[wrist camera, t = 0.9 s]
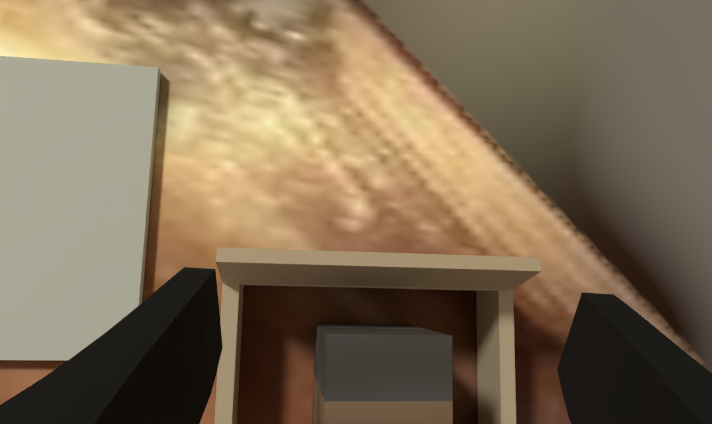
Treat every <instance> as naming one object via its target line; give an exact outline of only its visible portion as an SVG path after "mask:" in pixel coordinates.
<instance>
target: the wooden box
mask: <svg viewBox="0 0 712 424" xmlns="http://www.w3.org/2000/svg"><path fill="white" fill-rule="evenodd" d="M216 264H217V267H218V270H219V273H220V276H221V279H222V282H223V288H222V305H221V322H220V325H221V335H222V346H223V348H222V352H221V356H220V360H219V364H218V373H217V390H216V407H215V424H237V412H238V393H239V374H240V355H241V336H242V317H243V299H244V285H248V286H290V287H333V288H376V289H418V290H461V291H476V313H477V392H478V424H516V391H515V347H514V304H513V289H515V288H517V287H518V286H520V285H521V284H523V283H524V282H526V281H527V280H529V279H530V278H532V277H533V276H535V275H536V274H538V273H539V272H541V267H540V261H539V258H533V257H502V256H471V255H440V254H409V253H378V252H347V251H316V250H285V249H254V248H223V247H217V256H216Z"/></svg>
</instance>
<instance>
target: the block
mask: <svg viewBox="0 0 712 424" xmlns="http://www.w3.org/2000/svg"><path fill="white" fill-rule="evenodd" d="M312 424H453V392H452V335H448V334H444V333H440V332H436V331H432V330H428V329H424V328H420V327H416V326H412V325H394V324H327V323H315V349H314V380H313V410H312Z"/></svg>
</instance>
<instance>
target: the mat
mask: <svg viewBox="0 0 712 424" xmlns="http://www.w3.org/2000/svg"><path fill="white" fill-rule="evenodd" d="M160 77H161V72H160V70H159V68H157V67H143V66H129V65H116V64H102V63H88V62H75V61H61V60H47V59H34V58H20V57H6V56H0V360H69V359H71V358H72V357H73V356H75V355H76V354H77V353H79V352H80V351H81V350H83V349H84V348H85V347H87V346H88V345H90V344H91V343H92V342H94V341H95V340H96V339H98V338H99V337H100V336H102V335H103V334H104V333H106V332H107V331H108V330H109V329H111V328H112V327H113V326H114V325H116V324H117V323H118V322H119V321H120V320H122V319H123V318H124V317H125V316H127V315H128V314H129V313H130V312H132V311H133V310H134V309H135V308H136V307H138V306H139V305H140V304H141V303H142V298H143V286H144V274H145V261H146V249H147V237H148V224H149V212H150V200H151V187H152V175H153V163H154V151H155V138H156V126H157V114H158V101H159V89H160Z"/></svg>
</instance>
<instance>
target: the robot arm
mask: <svg viewBox="0 0 712 424" xmlns="http://www.w3.org/2000/svg"><path fill="white" fill-rule="evenodd" d="M222 348H223V346H222V335H221V325H220V314H219V304H218V293H217V283H216V272H215V269H202V268H187V267H184V268H183V269H182V270H181V271H179V272H178V273H177V274H176V275H175V276H173V277H172V278H171V279H170V280H169V281H167V282H166V283H165V284H164V285H163V286H161V287H160V288H159V289H158V290H157V291H155V292H154V293H153V294H152V295H151V296H150V297H148V298H147V299H146V300H145V301H144V302H142V303H141V304H140V305H139V306H138V307H136V308H135V309H134V310H133V311H132V312H130V313H129V314H128V315H127V316H125V317H124V318H123V319H122V320H120V321H119V322H118V323H117V324H116V325H114V326H113V327H112V328H111V329H109V330H108V331H107V332H106V333H104V334H103V335H102V336H100V337H99V338H98V339H96V340H95V341H94V342H92V343H91V344H90V345H88V346H87V347H85V348H84V349H83V350H81V351H80V352H79V353H77V354H76V355H75V356H73V357H72V358H71V359H69V360H68V361H67V362H65V363H64V364H63V365H61V366H60V367H58V368H57V369H55V370H54V371H53V372H51V373H50V374H48V375H47V376H45V377H44V378H42V379H41V380H39V381H38V382H36V383H35V384H33V385H32V386H30V387H28V388H27V389H25V390H24V391H22V392H20V393H19V394H17V395H16V396H14V397H12V398H11V399H9V400H8V401H6V402H4V403H3V404H1V405H0V424H199V423H200V420H201V418H202V415H203V413H204V410H205V407H206V405H207V402H208V400H209V397H210V394H211V391H212V387H213V383H214V380H215V376H216V372H217V368H218V364H219V360H220V356H221V352H222ZM557 370H558V374H559V379H560V383H561V387H562V392H563V396H564V400H565V404H566V408H567V412H568V416H569V419H570V422H571V424H712V373H711V372H709V371H708V370H707V369H706V368H704V367H703V366H702V365H701V364H699V363H698V362H697V361H696V360H694V359H693V358H692V357H691V356H689V355H688V354H687V353H686V352H684V351H683V350H682V349H681V348H679V347H678V346H677V345H676V344H675V343H673V342H672V341H671V340H670V339H669V338H667V337H666V336H665V335H664V334H662V333H661V332H660V331H659V330H658V329H656V328H655V327H654V326H653V325H652V324H650V323H649V322H648V321H647V320H645V319H644V318H643V317H642V316H641V315H639V314H638V313H637V312H636V311H634V310H633V309H632V308H631V307H629V306H628V305H627V304H625V303H624V302H623V301H621V300H620V299H619V298H617V297H616V296H615V295H611V294H595V293H582V294H581V297H580V300H579V304H578V307H577V310H576V313H575V316H574V319H573V322H572V325H571V328H570V332H569V335H568V338H567V341H566V344H565V347H564V350H563V353H562V356H561V360H560V363H559V366H558V369H557Z"/></svg>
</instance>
